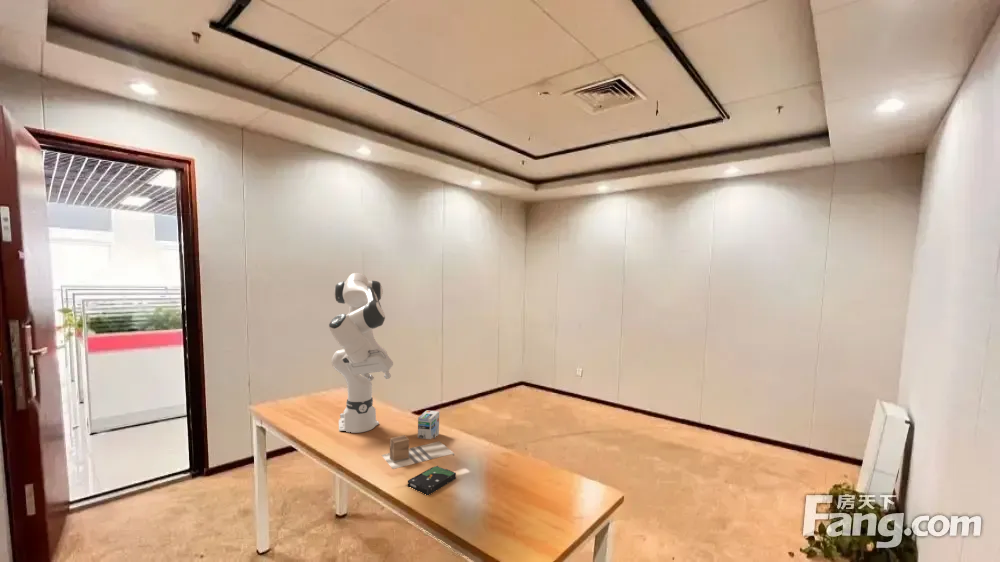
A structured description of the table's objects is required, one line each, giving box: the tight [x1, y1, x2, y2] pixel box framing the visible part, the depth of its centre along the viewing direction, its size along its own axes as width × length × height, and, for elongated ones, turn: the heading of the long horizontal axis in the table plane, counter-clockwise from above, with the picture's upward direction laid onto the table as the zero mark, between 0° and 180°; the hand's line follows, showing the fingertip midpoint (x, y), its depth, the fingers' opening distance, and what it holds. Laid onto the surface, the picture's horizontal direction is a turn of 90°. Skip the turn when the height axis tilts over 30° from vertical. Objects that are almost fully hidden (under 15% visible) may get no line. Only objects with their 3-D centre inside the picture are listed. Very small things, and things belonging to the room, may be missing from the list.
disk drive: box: [407, 465, 457, 496], centre depth 146 cm, size 10×3×15 cm
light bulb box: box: [417, 409, 440, 440], centre depth 186 cm, size 11×7×11 cm, turn 168°
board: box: [381, 441, 455, 470], centre depth 165 cm, size 14×26×2 cm, turn 124°
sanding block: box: [389, 434, 410, 463], centre depth 160 cm, size 5×6×8 cm
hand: (380, 378), depth 158 cm, fingers open, 8 cm apart
